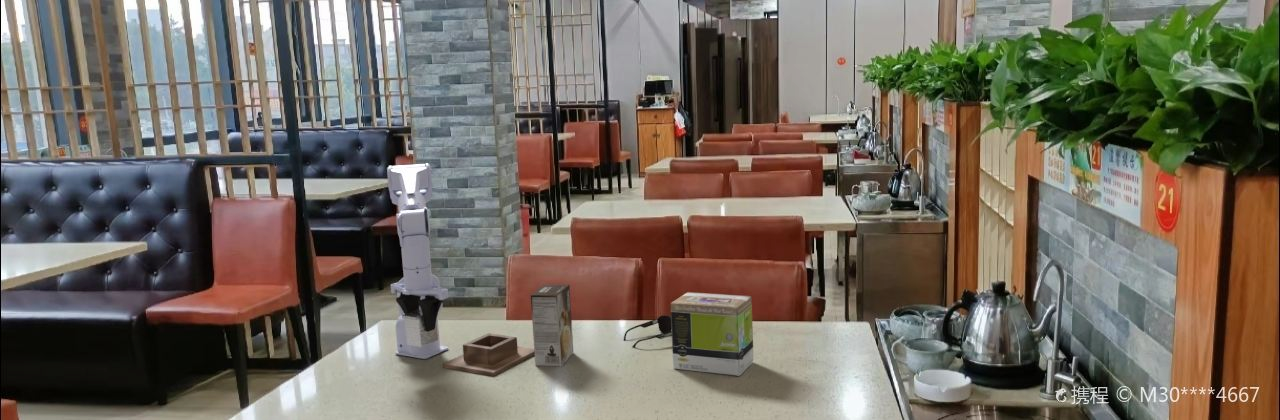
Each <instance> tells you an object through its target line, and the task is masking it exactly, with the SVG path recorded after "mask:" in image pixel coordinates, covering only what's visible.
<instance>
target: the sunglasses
mask: <svg viewBox="0 0 1280 420" xmlns="http://www.w3.org/2000/svg"><path fill="white" fill-rule="evenodd" d="M656 324H657V325H658V330H659V332H660V334H657V335H654V336H651V337H647V338H642V339H638V340H637V341H636V342H635V343H634V344H633V345H632V346H631V347H632V348H634V349H636V346H637V344H638V343H640V342H642V341H648V340H652V339H655V338H657V339H659V340H661V339H665V338H668V337H672V327H671V315H668V314H663V315H660V316H659V317H658V318H655V319H652V320H650V321H647V322H644V323H641V324H638V325H636V326H633V327H631V328H629V329H627V330H626V331H625V333H624V336H623V342H625V341H626V340H627V339H626V338H627V334H628V333H629V332H630V331H632V330H635V329H637V328H639V327H641V328H643V329H645V328H648V327H650V326H654V325H656Z"/></svg>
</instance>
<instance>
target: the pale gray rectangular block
mask: <svg viewBox="0 0 1280 420" xmlns="http://www.w3.org/2000/svg"><path fill="white" fill-rule="evenodd" d="M402 318H405V325H406V336H407V345H413V346H419V347H422V346H425V345H427V344H429V343H432V342H434V341H436V340H438V334H437V322H436V325H435V329H434V330H431V331H429V332H428V331H426V330H425V326H424V318H423V314H422V310H421V308H420V309H417V310H415V311H412V312H409V313H407V314H404V315H402Z"/></svg>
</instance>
